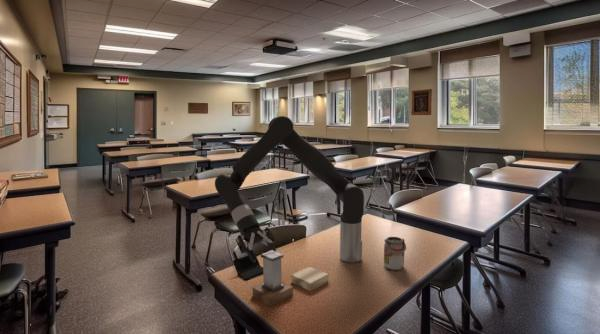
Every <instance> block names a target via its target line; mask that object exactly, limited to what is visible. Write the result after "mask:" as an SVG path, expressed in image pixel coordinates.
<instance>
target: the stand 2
mask: <svg viewBox="0 0 600 334" xmlns="http://www.w3.org/2000/svg"><path fill="white" fill-rule="evenodd" d="M329 278H330V277H329V274H328V273H326V272H324V271H323V270H319V269H317V268H314V267H311V266H306V267H305V268H303V269H300V270H298V271H296V272H294V273H291V275H290V282H291V283H292V284H294V285H295V286H296V285H297V286H299V287H301V288H303V289H305V290H307V291H308V292H309V291H310V292H311V291H314V290H316V289H318V288H319V287H321V286H323V285H324V284H327V283H328V282H329V281H330V280H329Z"/></svg>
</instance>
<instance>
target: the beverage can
mask: <svg viewBox="0 0 600 334" xmlns="http://www.w3.org/2000/svg"><path fill="white" fill-rule="evenodd" d="M406 250H407V245H406V243H405V239H404V238H401V237H398V236H388V237H387V238H386V239H384V244H383V266H384V267H385V268H386V269H387V270H389V269H390V270H389V271H394V270H397V271H401V270H403V268H404V267H405V252H406Z"/></svg>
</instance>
